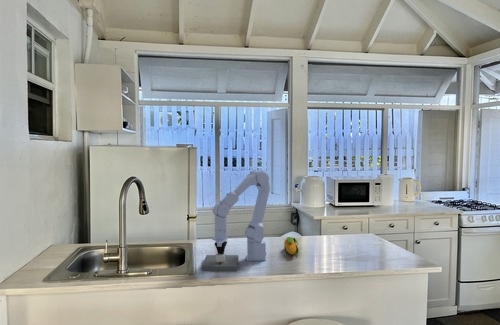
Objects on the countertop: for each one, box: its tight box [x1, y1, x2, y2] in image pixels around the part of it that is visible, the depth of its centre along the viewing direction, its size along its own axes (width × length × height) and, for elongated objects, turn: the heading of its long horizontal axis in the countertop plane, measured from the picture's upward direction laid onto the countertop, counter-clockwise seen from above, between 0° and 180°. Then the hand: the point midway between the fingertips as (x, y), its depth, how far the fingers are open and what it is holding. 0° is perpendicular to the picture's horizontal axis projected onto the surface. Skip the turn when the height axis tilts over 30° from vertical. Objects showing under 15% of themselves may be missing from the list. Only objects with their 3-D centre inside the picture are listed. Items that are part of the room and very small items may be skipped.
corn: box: [283, 236, 299, 256], centre depth 177 cm, size 7×8×20 cm
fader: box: [215, 253, 226, 262], centre depth 158 cm, size 4×2×3 cm, turn 89°
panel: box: [201, 254, 240, 272], centre depth 160 cm, size 16×16×2 cm
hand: (220, 257), depth 161 cm, fingers closed
